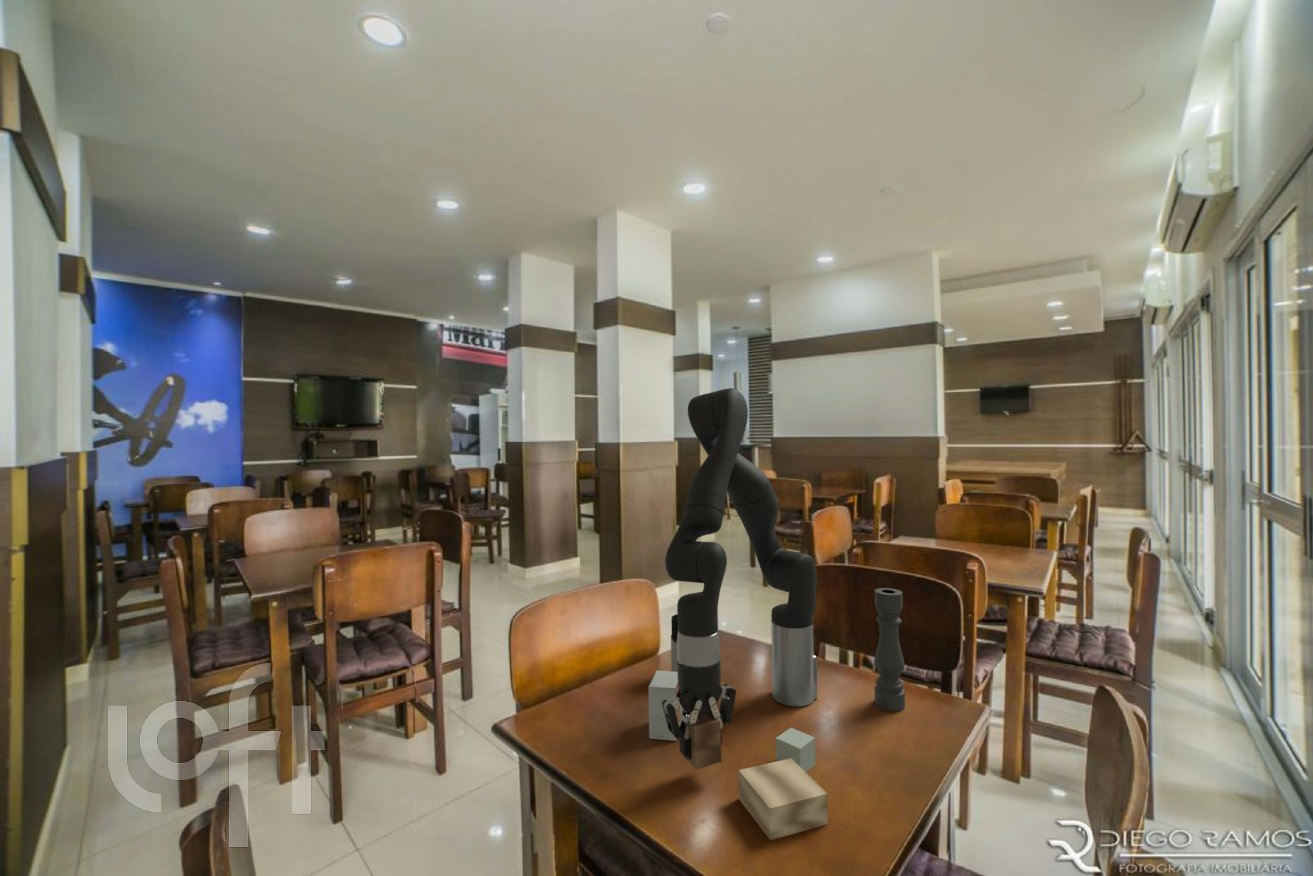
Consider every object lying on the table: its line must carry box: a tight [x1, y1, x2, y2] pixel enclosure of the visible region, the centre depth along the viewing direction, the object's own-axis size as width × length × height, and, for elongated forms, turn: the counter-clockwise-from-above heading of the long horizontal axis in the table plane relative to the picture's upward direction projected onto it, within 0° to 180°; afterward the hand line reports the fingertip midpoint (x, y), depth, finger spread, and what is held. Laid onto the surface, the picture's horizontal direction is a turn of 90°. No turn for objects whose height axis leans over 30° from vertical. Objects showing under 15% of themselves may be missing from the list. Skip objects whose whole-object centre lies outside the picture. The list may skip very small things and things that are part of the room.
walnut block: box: [687, 714, 722, 770], centre depth 97 cm, size 5×5×7 cm
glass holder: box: [670, 613, 678, 672], centre depth 134 cm, size 9×14×15 cm, turn 1°
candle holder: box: [874, 587, 906, 712], centre depth 123 cm, size 6×6×25 cm
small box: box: [648, 670, 682, 742], centre depth 113 cm, size 8×6×10 cm
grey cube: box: [775, 727, 816, 773], centre depth 101 cm, size 5×5×5 cm
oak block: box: [738, 758, 829, 841], centre depth 88 cm, size 10×10×5 cm
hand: (701, 752), depth 97 cm, fingers closed on walnut block, 5 cm apart
